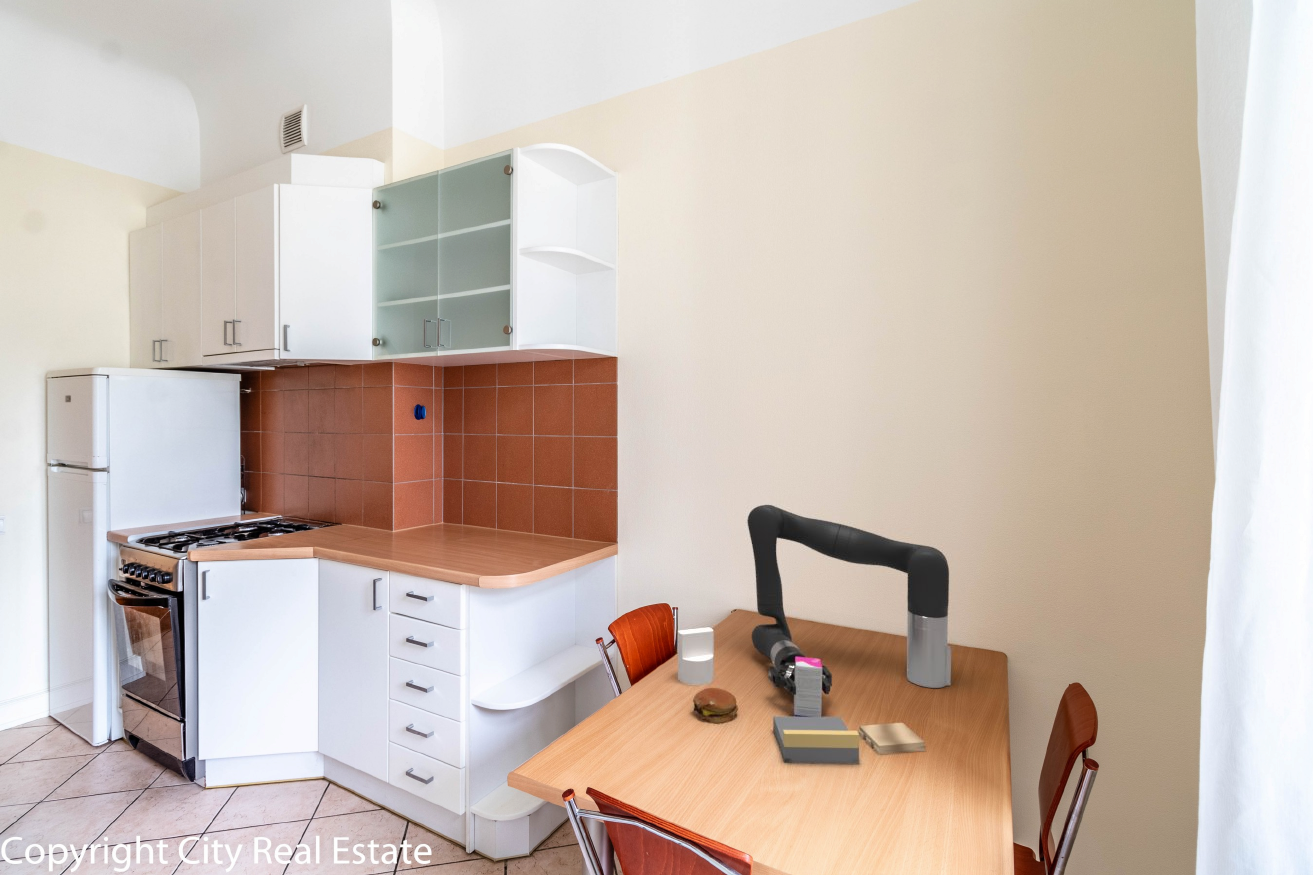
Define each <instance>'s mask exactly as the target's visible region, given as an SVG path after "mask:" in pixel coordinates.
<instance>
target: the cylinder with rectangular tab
mask: <svg viewBox="0 0 1313 875" xmlns="http://www.w3.org/2000/svg"><path fill="white" fill-rule="evenodd" d="M714 632H715V631H714V630H713V628H711V627H709V626H708V627H698V628H692V629H690V628H689V629H681V630H677V649H678V650H677V679H678V681H679V680H680V681H679V682H680V683H682V682H683V683H682V684H684V683H685V684H684V685H688V684H689V685H688V686H694V685H700V686H705V684H706V685H709V684H711V683H712V682H714V662H715V661H714V660H715V659H714V648H715V647H714V642H715V641H714V638H715V637H714V636H715V635H714Z"/></svg>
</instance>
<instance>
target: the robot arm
mask: <svg viewBox="0 0 1313 875" xmlns="http://www.w3.org/2000/svg"><path fill="white" fill-rule="evenodd" d="M746 523H747V527H748V532H749V538H750V541H751V545H752V546H751V547H752V552H753V559H754V568H755V571H754V572H755V586H756V588H755V589H756V590H755V591H756V606H757V608H756V609H757V613H758V614H759V615H761V616H763V617H766V618H767V617H768V618H773V619H775V623H769V624H758V625H757V626H755V627H754V628H753V630H752V632H751V642H752V645H753V646H754V648H755V650H756V651H757V652H758V653H760V654H761V655H762V656H764V657H767V658H768V659H770V660H771V662H772V665H773V666H769V667H768V679H769V681H770V682H771V683H772V684H773V686H774V687H775V688H779V689H780V688H781V687H783V688H784V689H785V690H786V691H787V692H788V693H790V694H791V695H792V696H794V695H796V685H795V657H805V658H807V656H806V655H805V654H804V653H803V651H802V650H800V649H799V647H798V646H797V645H796V644H794V643H793V639H792V634H791V630H790V628H789V624H788V622H787V619H786V613H785V610H784V600H783V599H784V597H783V596H784V595H783V584H782V578H781V573H780V569H779V563H778V557H777V542H778V539H782V540H786V541H791V542H795V543H799V544H800V545H803V546H804V547H805V546H806V547H807V548H809V549H811V550H812V551H815V552H816V553H817V552H818V553H819V554H822V555H823V556H827V557H829V558H832V559H833V558H834V559H835V560H840V561H843V562H847V563H850V564H858V565H866V566H867V565H869V566H882V567H886V568H890V569H893V570H896V571H900V572H903V573H904V574H907V597H906V598H907V619H906V620H907V621H906V622H907V623H906V624H907V626H906V627H907V630H906V631H907V632H906V633H907V634H906V637H907V638H906V639H907V640H906V642H907V643H906V649H907V650H906V679H907V680H908V681H909V682H911V683H913V684H914V685H918V686H920V687H924V688H930V689H931V688H932V689H936V688H937V689H939V688H945V687H947V686H951V684H952V683H951V681H952V680H951V679H952V676H951V674H952V671H951V670H952V666H951V665H952V648H951V646H950V645H949V644H948V635H949V634H948V629H949V626H948V622H949V620H948V618H949V601H950V600H949V596H950V593H949V590H950V588H949V587H950V586H949V585H950V568H949V564H948V560H947V558H946V555H944V553H943V552H942V551H940V550H939V549H937V548H935V547H932V546H929V545H923V544H916V543H915V544H914V543H909V542H905V541H904V542H903V541H899V540H894V539H890V538H889V537H885V536H882V535H879V534H876V533H873V532H870V531H867V530H865V529H864V530H863V529H860V528H857V527H853V526H849V525H846V524H841V523H838V522H832V521H828V520H823V519H817V518H811V517H805V516H802V515H799V514H796V513H792V512H790V511H787V510H784V509H782V508H780V507H777V506H775V505H772V504H763V505H758V506H756V507H754V508H753V509H752V510H750V512H749V514H748V515H747V522H746ZM832 686H833V674H832V673H831V671H830V670H829V669H828V667H827V666H826V665H823V664H822V692H823V694H825V695H829V694H830V693H831V687H832Z"/></svg>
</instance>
